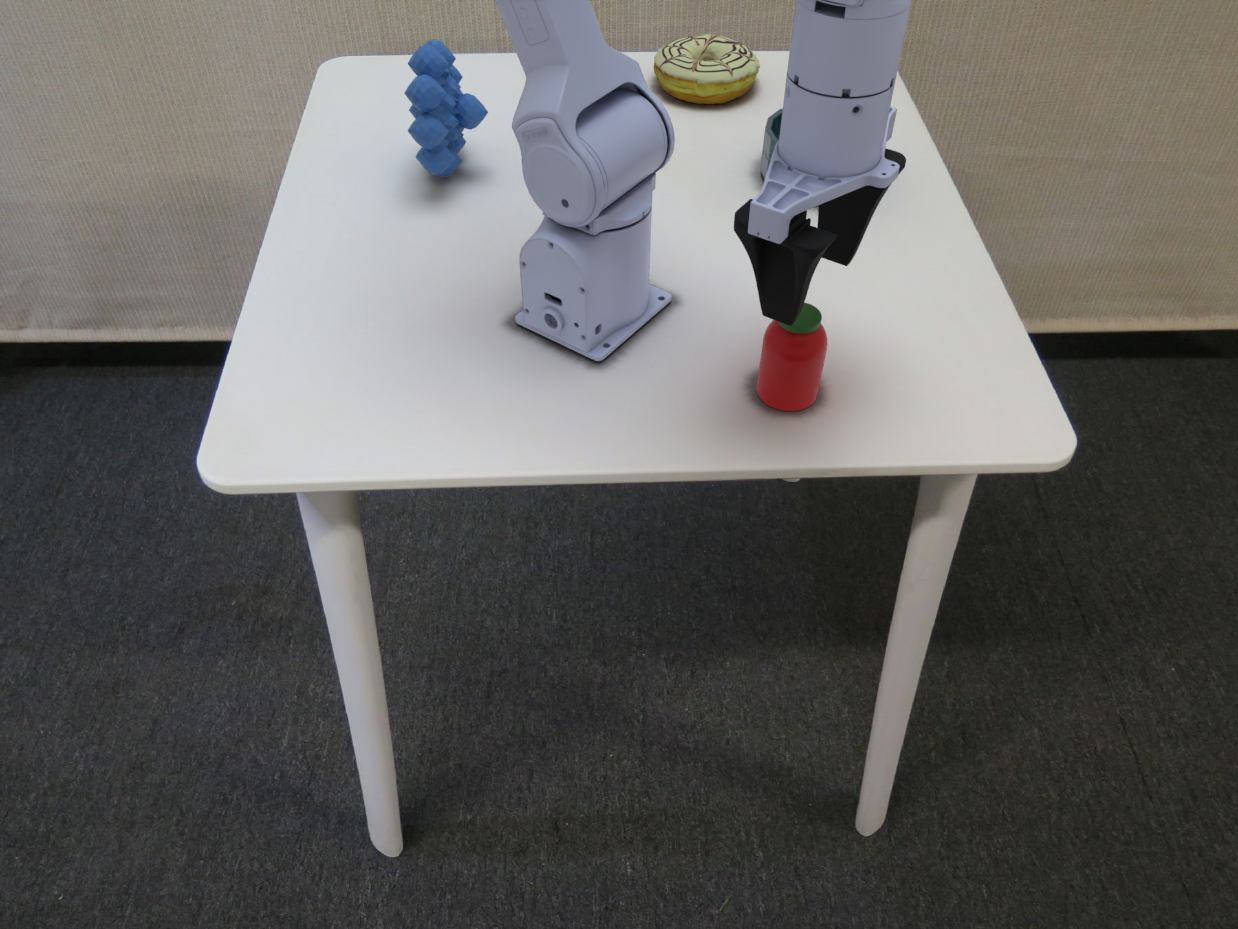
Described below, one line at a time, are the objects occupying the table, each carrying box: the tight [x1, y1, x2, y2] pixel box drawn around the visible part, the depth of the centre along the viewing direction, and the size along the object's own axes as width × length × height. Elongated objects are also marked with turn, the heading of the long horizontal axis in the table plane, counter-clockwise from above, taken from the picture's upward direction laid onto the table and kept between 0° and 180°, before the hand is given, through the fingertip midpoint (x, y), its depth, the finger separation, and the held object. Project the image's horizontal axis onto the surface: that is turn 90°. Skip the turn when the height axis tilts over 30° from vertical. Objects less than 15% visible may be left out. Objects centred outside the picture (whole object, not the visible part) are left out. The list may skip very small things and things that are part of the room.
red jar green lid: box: [755, 302, 828, 412], centre depth 66 cm, size 4×4×6 cm
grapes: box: [404, 38, 489, 178], centre depth 84 cm, size 12×7×12 cm, turn 178°
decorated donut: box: [653, 33, 761, 105], centre depth 99 cm, size 10×11×4 cm
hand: (807, 287), depth 62 cm, fingers open, 7 cm apart
